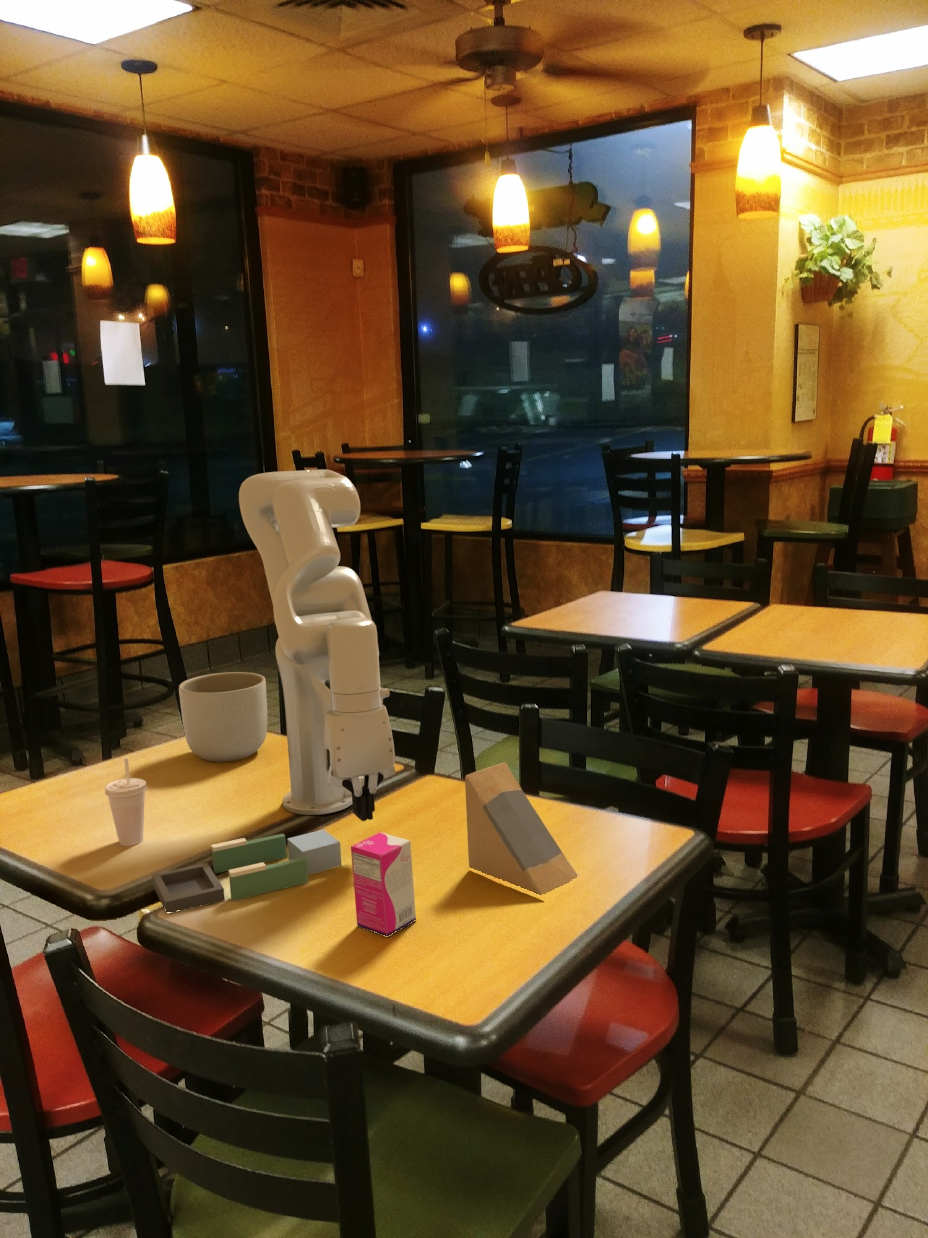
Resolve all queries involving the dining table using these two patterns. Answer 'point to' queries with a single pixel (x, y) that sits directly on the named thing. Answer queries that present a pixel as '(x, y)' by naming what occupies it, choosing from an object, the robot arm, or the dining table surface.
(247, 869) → the tunnel
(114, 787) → the smoothie
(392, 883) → the supplement box
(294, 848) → the block
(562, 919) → the dining table surface
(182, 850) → the dining table surface
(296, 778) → the robot arm
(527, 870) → the sandwich container
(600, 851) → the dining table surface
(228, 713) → the planter
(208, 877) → the tray
